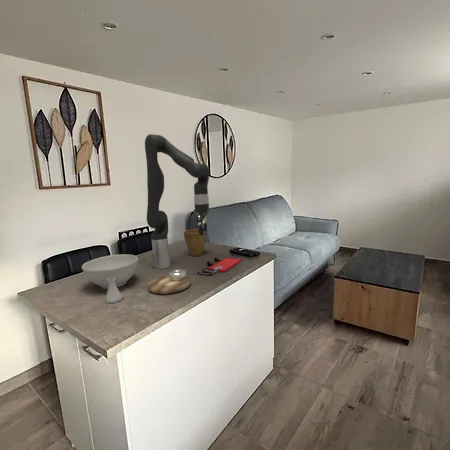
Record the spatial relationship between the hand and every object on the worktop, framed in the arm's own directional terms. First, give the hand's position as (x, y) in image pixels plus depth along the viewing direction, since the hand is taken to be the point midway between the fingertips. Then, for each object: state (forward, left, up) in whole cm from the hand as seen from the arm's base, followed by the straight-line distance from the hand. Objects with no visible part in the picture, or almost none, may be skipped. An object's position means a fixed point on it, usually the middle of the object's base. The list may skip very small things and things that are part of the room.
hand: (203, 233), depth 156 cm
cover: (-10, -16, -19) cm, 27 cm away
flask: (-33, -36, -22) cm, 54 cm away
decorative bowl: (-44, -18, -22) cm, 53 cm away
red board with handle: (+6, +10, -23) cm, 25 cm away
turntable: (-13, -20, -22) cm, 33 cm away
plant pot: (-15, +35, -22) cm, 44 cm away
